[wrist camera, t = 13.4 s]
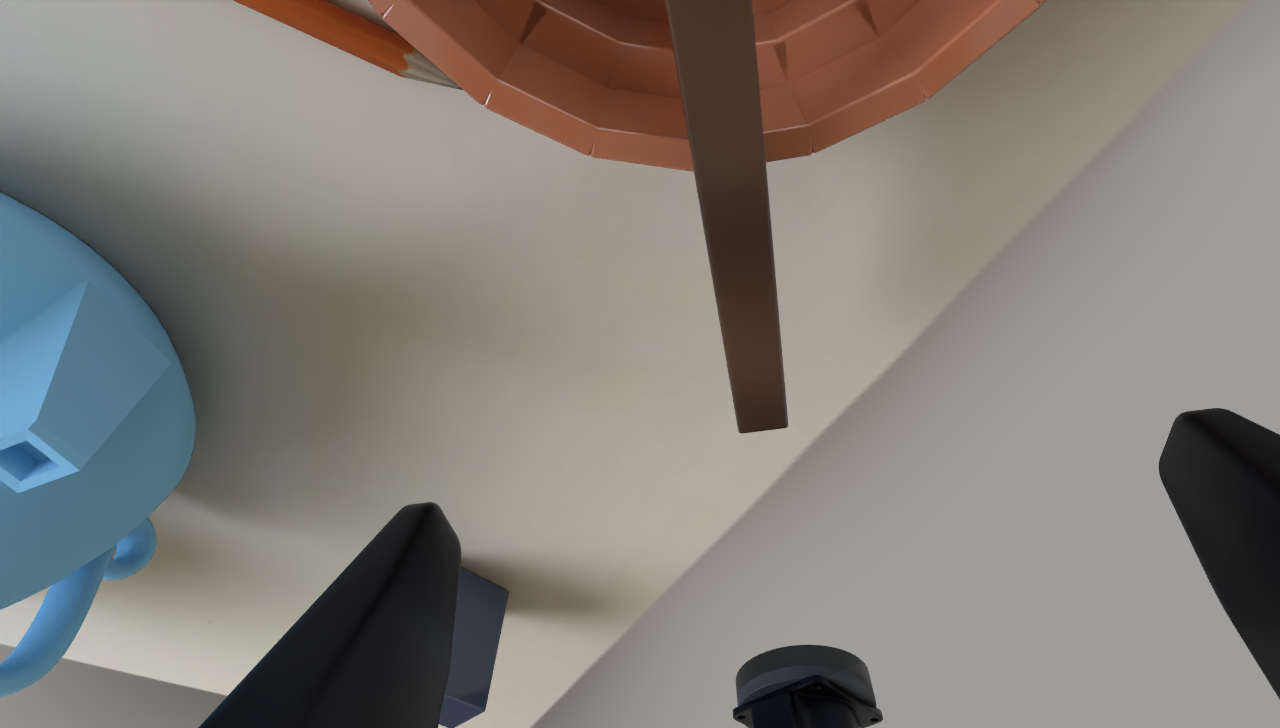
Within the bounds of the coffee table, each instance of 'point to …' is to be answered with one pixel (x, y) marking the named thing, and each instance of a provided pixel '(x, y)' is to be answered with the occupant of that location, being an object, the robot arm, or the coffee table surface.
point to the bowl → (647, 76)
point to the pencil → (353, 36)
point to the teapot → (77, 431)
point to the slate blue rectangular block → (473, 648)
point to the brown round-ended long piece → (733, 195)
